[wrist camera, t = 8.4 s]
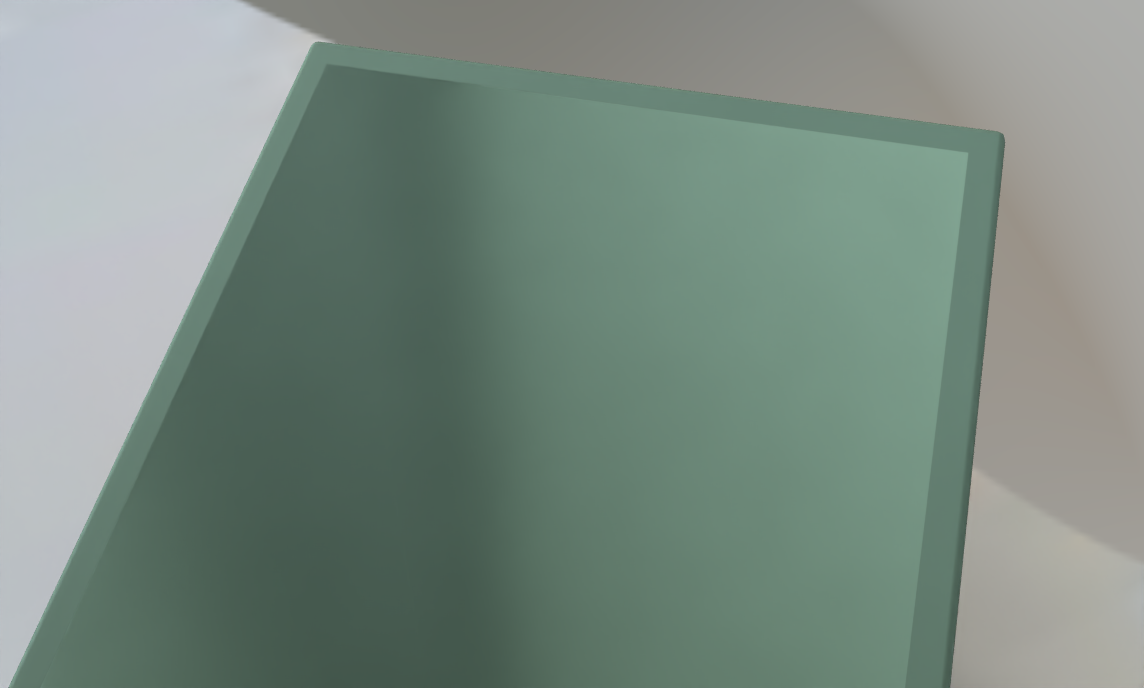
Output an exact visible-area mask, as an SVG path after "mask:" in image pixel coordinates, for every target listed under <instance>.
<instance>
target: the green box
mask: <svg viewBox="0 0 1144 688" xmlns="http://www.w3.org/2000/svg"><path fill="white" fill-rule="evenodd" d="M1004 148H1005V139H1004V135H1003V134H1002V133H1000V132H997V131H989V130H982V129H974V128H967V127H959V126H951V125H944V124H937V123H929V122H922V121H914V120H906V119H899V118H891V117H884V116H876V115H869V114H861V113H853V112H846V111H838V110H831V109H823V108H816V107H808V106H801V105H793V104H786V103H778V102H771V101H763V100H756V99H747V98H740V97H733V96H725V95H718V94H710V93H702V92H695V91H687V90H680V89H672V88H665V87H657V86H650V85H642V84H635V83H627V82H619V81H611V80H604V79H597V78H589V77H582V76H574V75H567V74H559V73H552V72H544V71H536V70H529V69H521V68H514V67H506V66H499V65H490V64H483V63H475V62H468V61H460V60H453V59H445V58H438V57H431V56H423V55H415V54H408V53H400V52H393V51H385V50H378V49H370V48H363V47H355V46H348V45H340V44H332V43H325V42H315V43H314V44H313V45H311V48H310V50H309V52H308V54H307V56H306V58H305V60H304V62H303V65H302V67H301V69H300V71H299V73H298V75H297V77H296V79H295V81H294V84H293V86H292V88H291V90H290V92H289V94H288V96H287V98H286V101H285V103H284V105H283V107H282V109H281V111H280V113H279V115H278V118H277V120H276V122H275V124H274V126H273V128H272V130H271V132H270V134H269V137H268V139H267V141H266V143H265V145H264V147H263V149H262V151H261V154H260V156H259V158H258V160H257V162H256V164H255V166H254V168H253V170H252V173H251V175H250V177H249V179H248V181H247V183H246V185H245V187H244V190H243V192H242V194H241V196H240V198H239V200H238V202H237V204H236V206H235V209H234V211H233V213H232V215H231V217H230V219H229V221H228V223H227V226H226V228H225V230H224V232H223V234H222V236H221V238H220V240H219V243H218V245H217V247H216V249H215V251H214V253H213V255H212V257H211V259H210V262H209V264H208V266H207V268H206V270H205V272H204V274H203V276H202V279H201V281H200V283H199V285H198V287H197V289H196V291H195V293H194V295H193V298H192V300H191V302H190V304H189V306H188V308H187V310H186V312H185V315H184V317H183V319H182V321H181V323H180V325H179V327H178V329H177V332H176V334H175V336H174V338H173V340H172V342H171V344H170V346H169V348H168V351H167V353H166V355H165V357H164V359H163V361H162V363H161V365H160V368H159V370H158V372H157V374H156V376H155V378H154V380H153V382H152V384H151V387H150V389H149V391H148V393H147V395H146V397H145V399H144V401H143V404H142V406H141V408H140V410H139V412H138V414H137V416H136V418H135V421H134V423H133V425H132V427H131V429H130V431H129V433H128V435H127V437H126V440H125V442H124V444H123V446H122V448H121V450H120V452H119V454H118V457H117V459H116V461H115V463H114V465H113V467H112V469H111V471H110V473H109V476H108V478H107V480H106V482H105V484H104V486H103V488H102V490H101V493H100V495H99V497H98V499H97V501H96V503H95V505H94V507H93V509H92V512H91V514H90V516H89V518H88V520H87V522H86V524H85V526H84V529H83V531H82V533H81V535H80V537H79V539H78V541H77V543H76V546H75V548H74V550H73V552H72V554H71V556H70V558H69V560H68V562H67V565H66V567H65V569H64V571H63V573H62V575H61V577H60V579H59V582H58V584H57V586H56V588H55V590H54V592H53V594H52V596H51V598H50V601H49V603H48V605H47V607H46V609H45V611H44V613H43V615H42V618H41V620H40V622H39V624H38V626H37V628H36V630H35V632H34V635H33V637H32V639H31V641H30V643H29V645H28V647H27V649H26V651H25V654H24V656H23V658H22V660H21V662H20V664H19V666H18V668H17V671H16V673H15V675H14V677H13V679H12V681H11V683H10V685H9V687H8V688H950V683H951V673H952V663H953V653H954V644H955V634H956V624H957V614H958V604H959V594H960V584H961V574H962V564H963V554H964V544H965V534H966V524H967V515H968V505H969V495H970V485H971V475H972V465H973V455H974V444H975V435H976V425H977V415H978V405H979V396H980V386H981V385H980V384H981V376H982V366H983V356H984V345H985V336H986V326H987V315H988V305H989V296H990V286H991V276H992V266H993V256H994V246H995V236H996V227H997V217H998V207H999V196H1000V187H1001V177H1002V167H1003V157H1004Z"/></svg>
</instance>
